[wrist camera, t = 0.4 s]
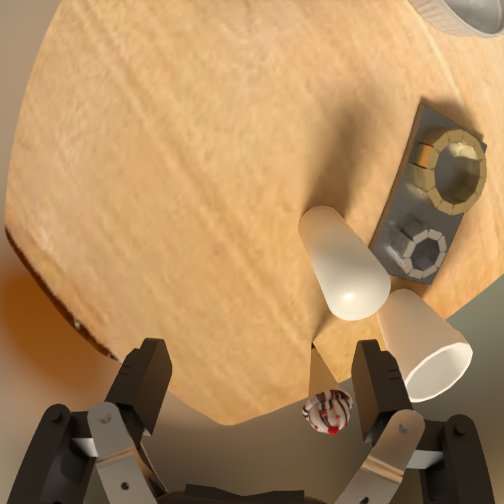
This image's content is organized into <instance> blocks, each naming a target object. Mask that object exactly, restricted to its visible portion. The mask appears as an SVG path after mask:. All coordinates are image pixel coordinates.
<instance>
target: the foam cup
mask: <svg viewBox="0 0 504 504" xmlns="http://www.w3.org/2000/svg"><path fill="white" fill-rule="evenodd" d="M377 319H378V322H379V325H380V329H381V332H382V335H383V338H384V341H385V344H386V347H387V351H389V352H390V353H391V354H392V355H393V356H394V357H395V359H396V361H397V363H398V366H399V371H400V372H401V375H402V379H403V380H404V383H405V386H406V389H407V392H408V395H409V399H410V402H421V401H424V400H427V399H430V398H433V397H435V396H437V395H439V394H440V393H442V392H444V391H445V390H447V389H449V388H450V387H451V386H452V385H453V384H454V383H455V382H456V381H457V380H458V379H459V378H460V377H461V376H462V375H463V373H464V372H465V371H466V369H467V368H468V366H469V364H470V361H471V358H472V354H473V352H472V350H471V347H470V345H469V344H468V342H467V341H466V340H465V338H464V337H463V336H462V334H461V333H460V332H459V331H457V330H455V329H454V328H453V327H452V326H450V324H448V323H447V322H446V321H445V320H444V319H443V318H442V317H441V316H440V315H439V314H438V313H437V312H436V311H434V310H433V309H432V308H431V307H430V306H429V305H428V304H427V303H426V302H424V301H423V300H422V299H421V298H420V297H419V296H418V295H417V294H415V293H414V292H413V291H411V290H408V289H405V288H404V289H398V290H395V291H393V292H391V293H390V294H389V296H388V298H387V300H386V301H385V303H384V304H383V305H382V306H381V308H380V309H378V310H377Z"/></svg>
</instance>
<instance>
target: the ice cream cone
mask: <svg viewBox="0 0 504 504" xmlns="http://www.w3.org/2000/svg"><path fill="white" fill-rule="evenodd" d="M352 406H353V402H352V398H351V396H350V395H349V394H348V393H347V392H346V391H343V390H341V388H340V386H339V385H338V383H337V382H336V380H335V378H334V377H333V375H332V373H331V372H330V370H329V369H328V367H327V365H326V364H325V362H324V360H323V359H322V357H321V356H320V354H319V352H318V351H317V349H316V348H315V346H314V344H313V343H312V346H311V366H310V382H309V397H308V401H307V403H306V404H305V406H304V407H303V410H302V411H303V415H304V417H305V418H306V419H307V420H309V422H310V423H311V425H312V426H313V427H314V428H315V429H316V430H317V431H320V432H322V433H329V434H332V435H335V434H336V433H337V432H338V431H339V430H340V429H342V428H343V427H344V428H345V427H346V423H347V421H348V420H349V417H350V409H351V408H352Z"/></svg>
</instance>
